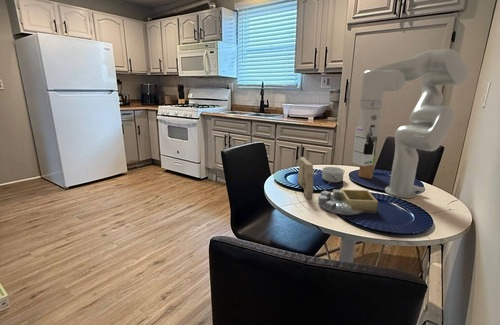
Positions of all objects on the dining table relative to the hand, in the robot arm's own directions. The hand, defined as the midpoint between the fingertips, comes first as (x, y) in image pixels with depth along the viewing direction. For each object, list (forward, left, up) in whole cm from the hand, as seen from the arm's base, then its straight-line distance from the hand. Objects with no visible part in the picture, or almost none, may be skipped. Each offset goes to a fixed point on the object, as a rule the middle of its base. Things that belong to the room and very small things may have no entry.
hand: (364, 151), depth 103 cm
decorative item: (-16, -40, -24) cm, 49 cm away
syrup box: (0, 0, -5) cm, 5 cm away
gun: (+20, -17, -24) cm, 35 cm away
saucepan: (+4, -28, -24) cm, 37 cm away
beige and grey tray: (+5, 0, -23) cm, 24 cm away
